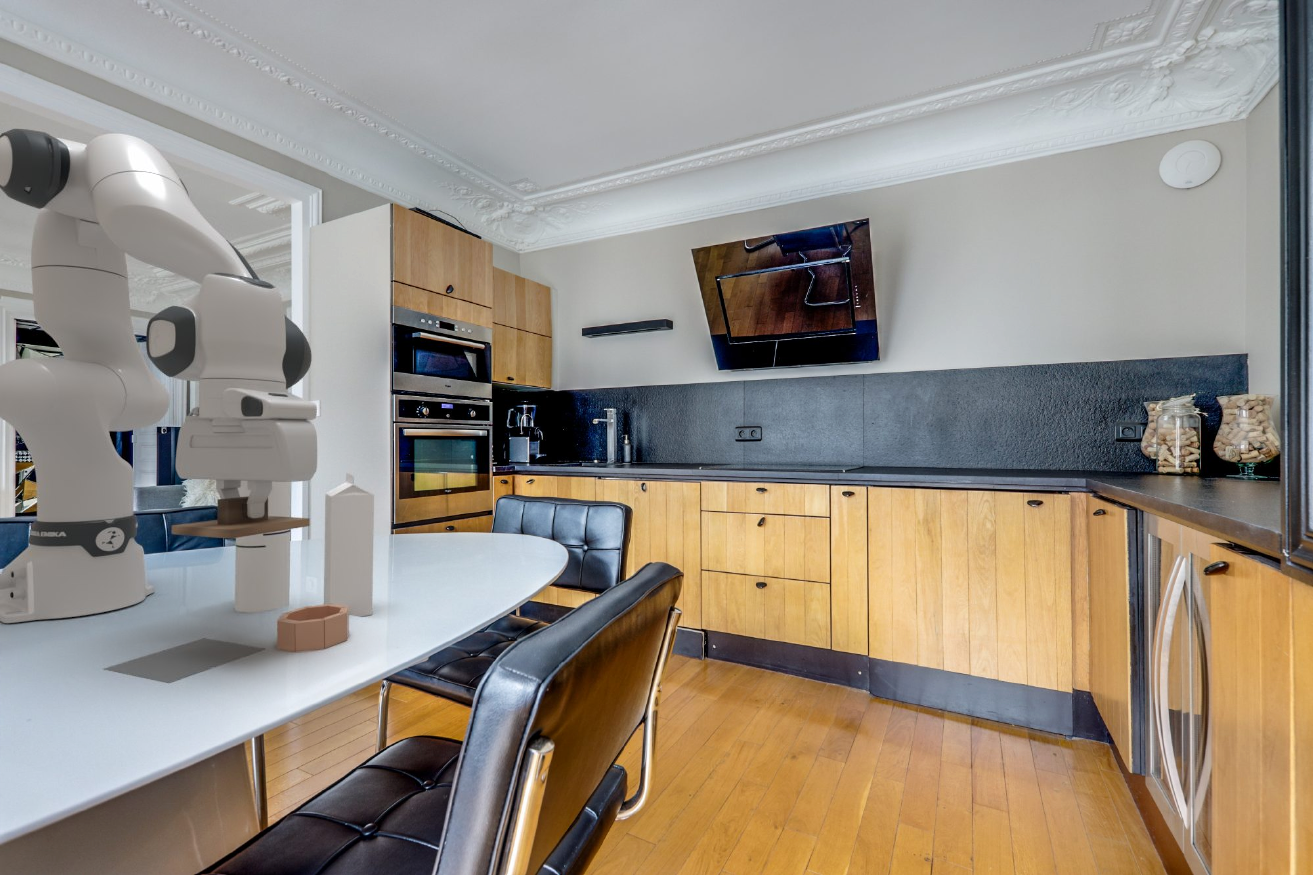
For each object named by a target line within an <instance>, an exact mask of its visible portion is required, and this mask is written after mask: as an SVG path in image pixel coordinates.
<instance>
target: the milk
mask: <svg viewBox="0 0 1313 875" xmlns="http://www.w3.org/2000/svg"><path fill="white" fill-rule="evenodd" d="M345 478H346V479H345V482H344V483H341V484H339V485H338V486H336V487H334V488H332V489H331V490H328V491H327V492H325V498H324V499H325V500H324V509H325V510H324V554H323V555H324V559H323V560H324V565H323V566H324V567H323V605H325V604H337V605H344V606H349V616H351V617H352V616H353V617H359V618H360V617H361V618H362V617H366V616H372V615H373V595H374V594H373V593H374V588H373V587H374V586H373V585H374V583H373V582H374V580H373V579H374V533H375V532H374V525H375V524H374V523H375V522H374V521H375V520H374V518H375V495H374V494H373V493H372V492H370V491H368V490H365V489H364V488H361V487H359V486H357V485H355V484H354V479H355V476H354V474H353V473H349V472H346V474H345Z"/></svg>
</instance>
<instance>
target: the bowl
mask: <svg viewBox="0 0 1313 875" xmlns="http://www.w3.org/2000/svg"><path fill="white" fill-rule="evenodd" d="M276 625H277V626H276V630H277V631H276V632H277V633H276V635H277V636H276V638H277V639H276V640H277V643H276V644H277V645H276V646H277V647H276V648H277V649H279V650H283V651H288V652H292V653H301V652H308V651H316V650H323V649H327V648H330V647H333V646H336V645H339V644H341V643H343V642H346V641H347V640H348V637H349V635H350V615H349V606H344V605H337V604H325V605H324V604H319V605H318V604H317V605H316V604H315V605H309V606H308V605H307V606H303V607H299V608H296V609H292V610H289V611H285V612H282V613H281V614H280V616H279V617H278V618H277V621H276Z"/></svg>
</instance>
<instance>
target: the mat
mask: <svg viewBox="0 0 1313 875" xmlns="http://www.w3.org/2000/svg"><path fill="white" fill-rule="evenodd" d="M264 650H266V648H264V647H258V646H252V645H246V644H240V643H235V642H229V641H225V640H224V641H222V640H219V639H218V640H217V639H212V638H208V637H207V638H206V637H204V638H200V639H196V640H193V641H190V642H187V643H184V644H180V645H176V646H172V647H170V648H167V649H164V650H160V651H157V652H154V653H153V652H152V653H151V654H148V655H144V656H141V657H138V658H135V659H131V660H128V661H125V662H120V663H118V664H115V665H111V666H108V667H104V668H103V670H104V671H110V672H114V673H118V674H125V675H129V676H133V677H138V678H141V679H146V680H152V681H157V682H161V683H166V684H172V683H174V682H177V681H180V680H183V679H185V678H188V677H191V676H193V675H196V674H200V673H203V672H205V671H209V670H210V669H211V670H212V669H213V668H217V667H219V666H222V665H225V664H228V663H230V662H233V661H237V660H239V659H241V658H244V657H247V656H250V655H253V654H255V653H259V652H261V651H264Z"/></svg>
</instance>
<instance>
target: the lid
mask: <svg viewBox="0 0 1313 875" xmlns="http://www.w3.org/2000/svg"><path fill="white" fill-rule="evenodd" d="M248 498H249V496H247V497H237V498H227V499H221V498H217V500H216V502H217V512H216V513H217V519H213V520H206V521H205V520H204V521H197V522H191V523H189V522H188V523H182V524H174V525H173V524H172V525H171V534H172V535H179V536H181V535H182V536H193V537H203V538H204V537H206V538H218V539H219V538H220V539H236V538H238V537H244V536H251V535H257V534H263V533H269V532H275V531H282V530H288V529H290V530H293V529H299V528H306V527H310V525H311V523H310V522H311V521H310V518H309V517H295V516H294V517H292V516H291V517H279V516H268V498H267V500H266V502H265V503H264V516H263V517H260V518H244V517H243V516H242V512H243V510H242V504H245V503H247V501H248Z"/></svg>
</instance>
